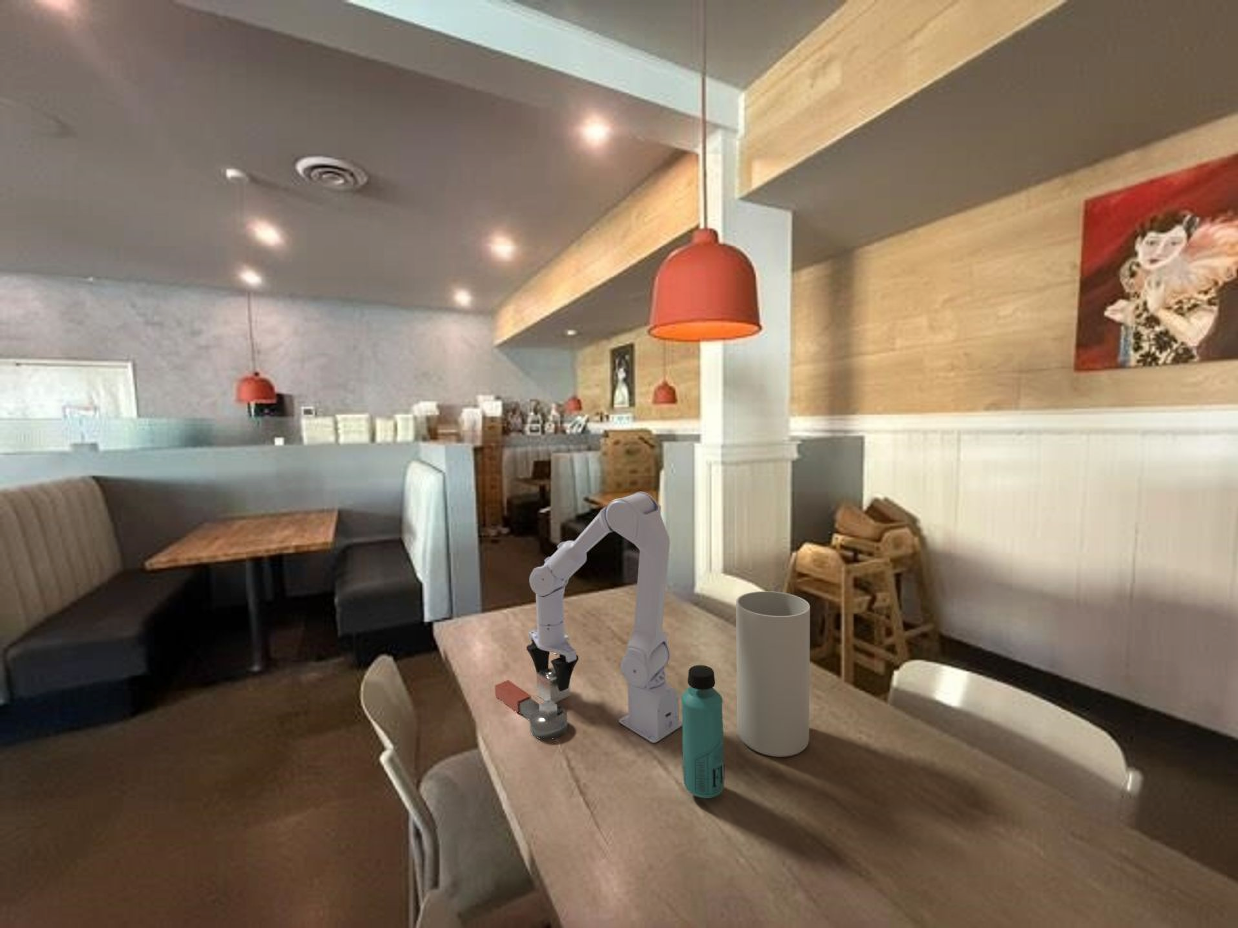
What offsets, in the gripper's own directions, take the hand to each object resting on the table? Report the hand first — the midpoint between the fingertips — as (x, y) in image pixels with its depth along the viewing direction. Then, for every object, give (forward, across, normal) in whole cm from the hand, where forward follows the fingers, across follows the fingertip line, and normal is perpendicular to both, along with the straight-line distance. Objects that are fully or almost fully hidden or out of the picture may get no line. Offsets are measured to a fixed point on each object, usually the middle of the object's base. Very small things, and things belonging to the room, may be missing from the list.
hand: (553, 682), depth 110 cm
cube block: (+3, 0, 0) cm, 3 cm away
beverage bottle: (+3, -40, 0) cm, 40 cm away
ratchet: (+3, -2, +7) cm, 8 cm away
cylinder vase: (+3, -40, -20) cm, 45 cm away
